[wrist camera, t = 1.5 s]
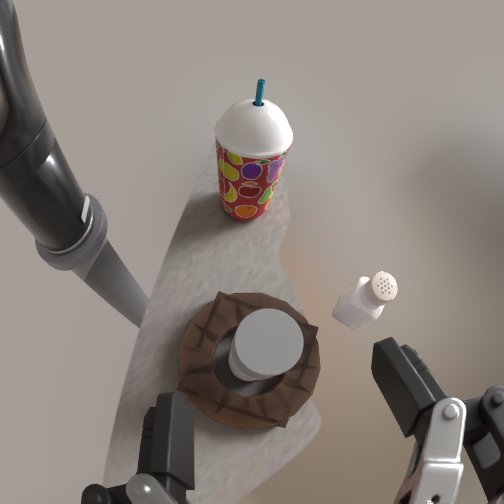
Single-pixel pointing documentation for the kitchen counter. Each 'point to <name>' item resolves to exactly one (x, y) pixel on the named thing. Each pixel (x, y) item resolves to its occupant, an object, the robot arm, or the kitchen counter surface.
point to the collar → (218, 396)
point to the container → (265, 345)
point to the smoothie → (250, 154)
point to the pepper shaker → (365, 300)
